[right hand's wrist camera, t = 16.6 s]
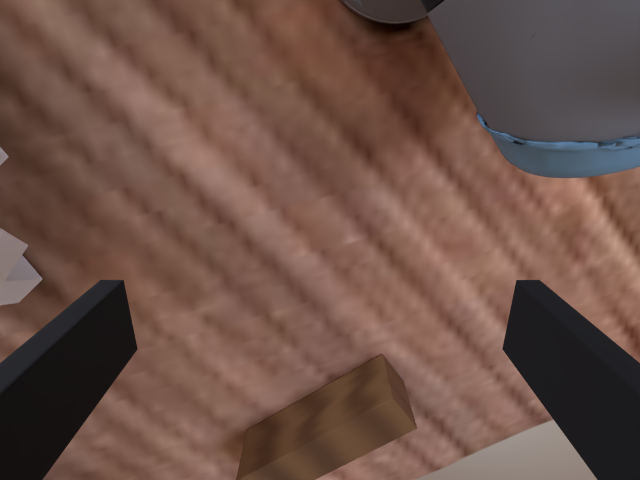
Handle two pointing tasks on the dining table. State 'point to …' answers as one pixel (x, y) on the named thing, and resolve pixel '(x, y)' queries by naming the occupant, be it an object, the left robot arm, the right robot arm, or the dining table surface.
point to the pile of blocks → (14, 266)
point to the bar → (329, 426)
